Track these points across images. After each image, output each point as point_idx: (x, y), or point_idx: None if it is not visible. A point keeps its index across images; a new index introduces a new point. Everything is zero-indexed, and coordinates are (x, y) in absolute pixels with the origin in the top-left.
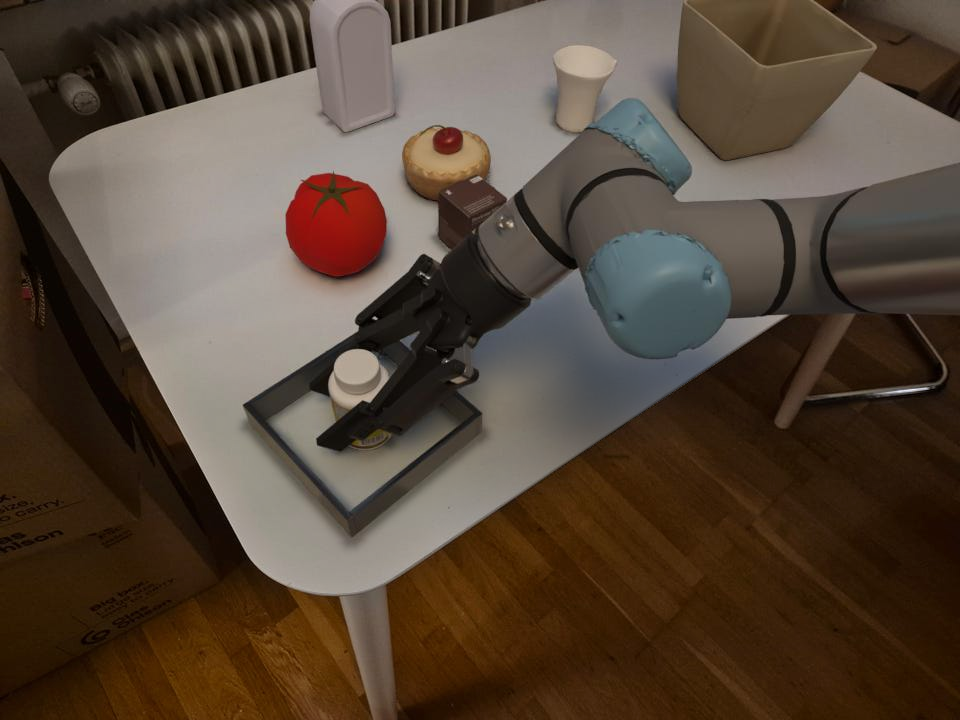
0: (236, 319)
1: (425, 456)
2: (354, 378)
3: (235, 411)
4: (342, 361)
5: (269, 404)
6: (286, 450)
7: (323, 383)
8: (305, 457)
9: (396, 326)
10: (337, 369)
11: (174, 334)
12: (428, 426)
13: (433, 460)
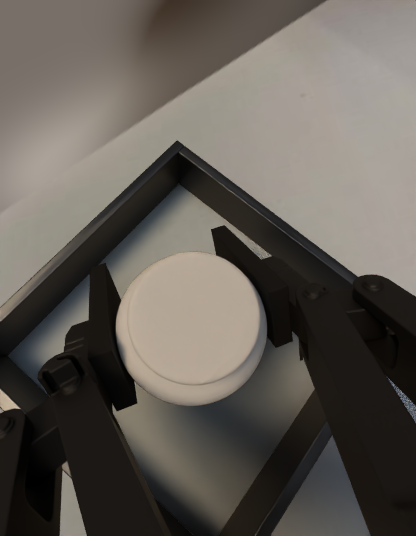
0: (349, 115)
1: None
2: (147, 317)
3: (197, 150)
4: (204, 271)
5: (198, 182)
6: (94, 222)
7: (222, 248)
8: (131, 257)
9: (355, 439)
10: (175, 263)
11: (304, 55)
12: (210, 451)
13: None
